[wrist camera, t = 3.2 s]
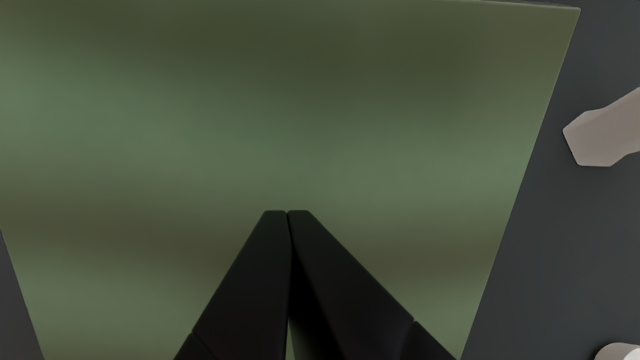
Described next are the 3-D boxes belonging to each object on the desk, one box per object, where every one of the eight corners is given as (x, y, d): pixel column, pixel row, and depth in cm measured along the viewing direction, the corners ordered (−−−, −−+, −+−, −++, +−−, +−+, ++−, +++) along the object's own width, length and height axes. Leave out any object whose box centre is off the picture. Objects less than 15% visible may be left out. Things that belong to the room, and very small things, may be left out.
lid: (-62, -44, 8) (-92, -42, 7) (559, 3, 10) (583, 8, 9) (71, 393, 14) (62, 416, 13) (442, 366, 16) (451, 385, 15)
